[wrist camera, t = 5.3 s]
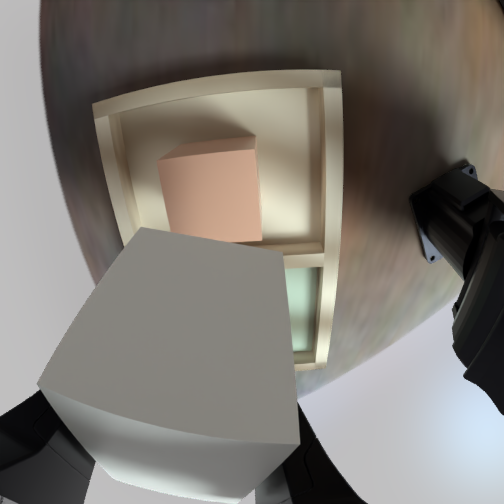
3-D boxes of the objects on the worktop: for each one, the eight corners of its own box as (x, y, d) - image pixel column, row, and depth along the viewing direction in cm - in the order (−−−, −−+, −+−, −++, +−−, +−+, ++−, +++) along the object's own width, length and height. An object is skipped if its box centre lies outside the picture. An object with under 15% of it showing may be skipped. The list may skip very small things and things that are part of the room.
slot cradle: (321, 347, 26) (325, 368, 24) (177, 352, 27) (172, 371, 25) (329, 73, 15) (340, 70, 13) (110, 101, 16) (92, 103, 13)
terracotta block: (261, 206, 18) (262, 240, 14) (192, 212, 19) (173, 246, 15) (256, 135, 16) (254, 148, 12) (180, 144, 16) (156, 160, 12)
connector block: (282, 252, 9) (300, 444, 4) (244, 381, 13) (236, 503, 7) (140, 226, 9) (36, 383, 4) (148, 363, 12) (113, 479, 7)
